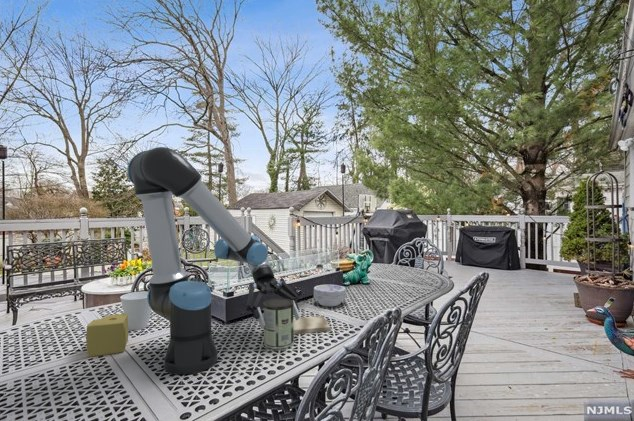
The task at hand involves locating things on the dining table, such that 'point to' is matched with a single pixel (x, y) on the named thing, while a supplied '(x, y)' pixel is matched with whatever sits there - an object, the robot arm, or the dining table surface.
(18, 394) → the dining table surface
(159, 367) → the dining table surface
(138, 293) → the cup
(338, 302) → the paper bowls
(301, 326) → the plain beige board
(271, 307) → the coffee can
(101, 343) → the cheese
